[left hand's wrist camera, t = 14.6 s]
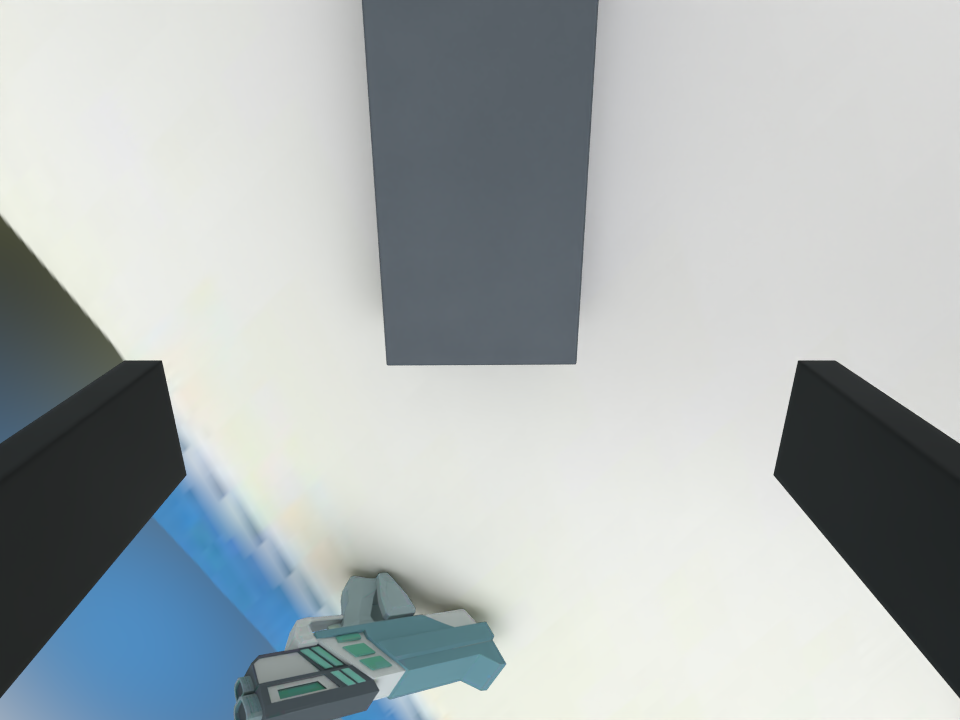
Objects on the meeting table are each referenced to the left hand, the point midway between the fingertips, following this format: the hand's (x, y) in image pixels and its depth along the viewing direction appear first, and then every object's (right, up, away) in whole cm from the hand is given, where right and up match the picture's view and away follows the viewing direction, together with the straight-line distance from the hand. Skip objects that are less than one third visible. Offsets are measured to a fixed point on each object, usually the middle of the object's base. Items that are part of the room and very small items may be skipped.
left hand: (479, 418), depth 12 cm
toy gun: (-6, -17, +34) cm, 39 cm away
